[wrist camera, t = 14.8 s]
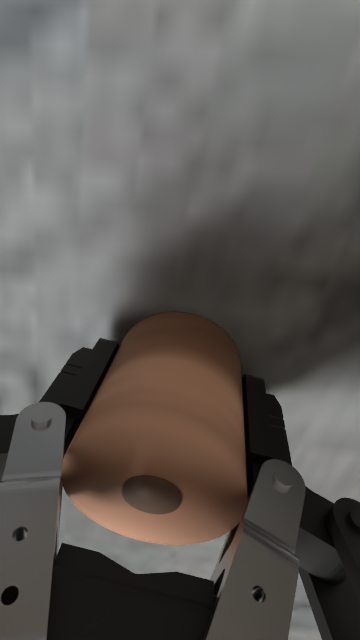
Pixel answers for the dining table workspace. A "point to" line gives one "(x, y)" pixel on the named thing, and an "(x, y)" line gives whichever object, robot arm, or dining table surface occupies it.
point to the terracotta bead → (164, 436)
